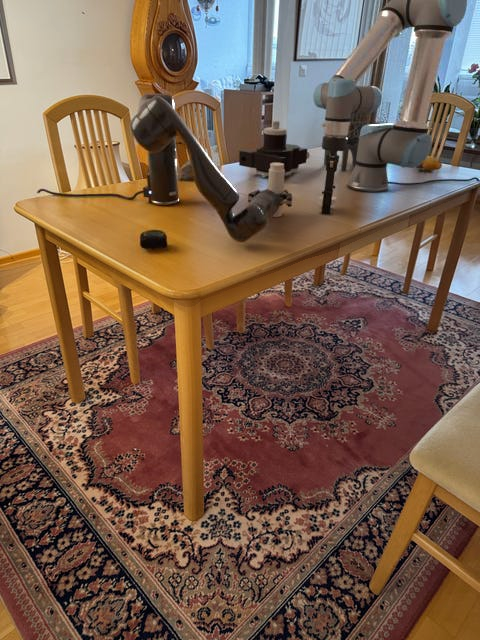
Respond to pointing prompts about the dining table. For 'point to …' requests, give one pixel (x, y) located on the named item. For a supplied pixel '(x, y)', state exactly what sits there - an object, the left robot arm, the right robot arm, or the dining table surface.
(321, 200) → the white cylinder with groove
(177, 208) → the dining table surface
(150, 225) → the dining table surface
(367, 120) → the planter
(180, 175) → the rock
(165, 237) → the tape measure
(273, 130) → the mechanical component
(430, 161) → the toy
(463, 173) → the dining table surface
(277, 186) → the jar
